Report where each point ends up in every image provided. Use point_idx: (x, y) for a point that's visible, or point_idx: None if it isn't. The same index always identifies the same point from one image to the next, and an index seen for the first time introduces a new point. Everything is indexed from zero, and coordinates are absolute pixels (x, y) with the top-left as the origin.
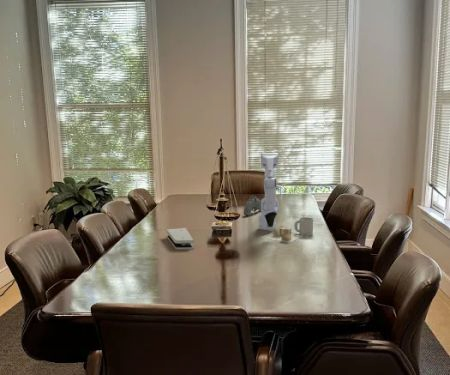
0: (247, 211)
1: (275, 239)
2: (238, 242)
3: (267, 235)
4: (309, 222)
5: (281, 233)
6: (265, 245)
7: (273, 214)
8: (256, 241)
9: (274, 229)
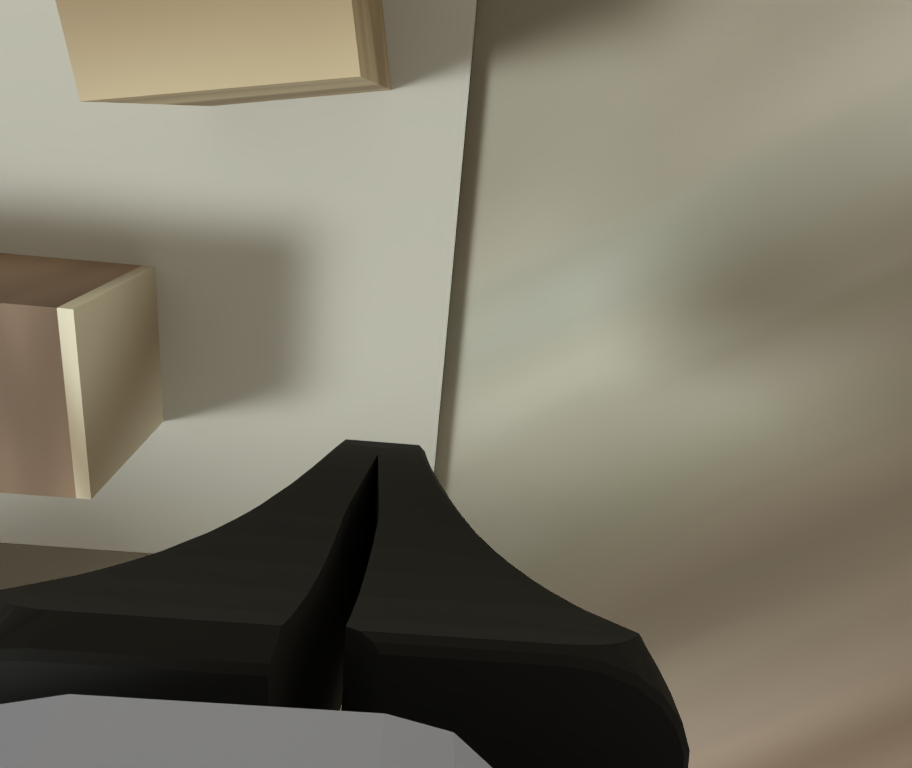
0: None
1: (408, 240)
2: (835, 712)
3: (213, 514)
4: None
5: (378, 82)
6: (877, 243)
7: (411, 702)
8: (662, 512)
9: (97, 444)
